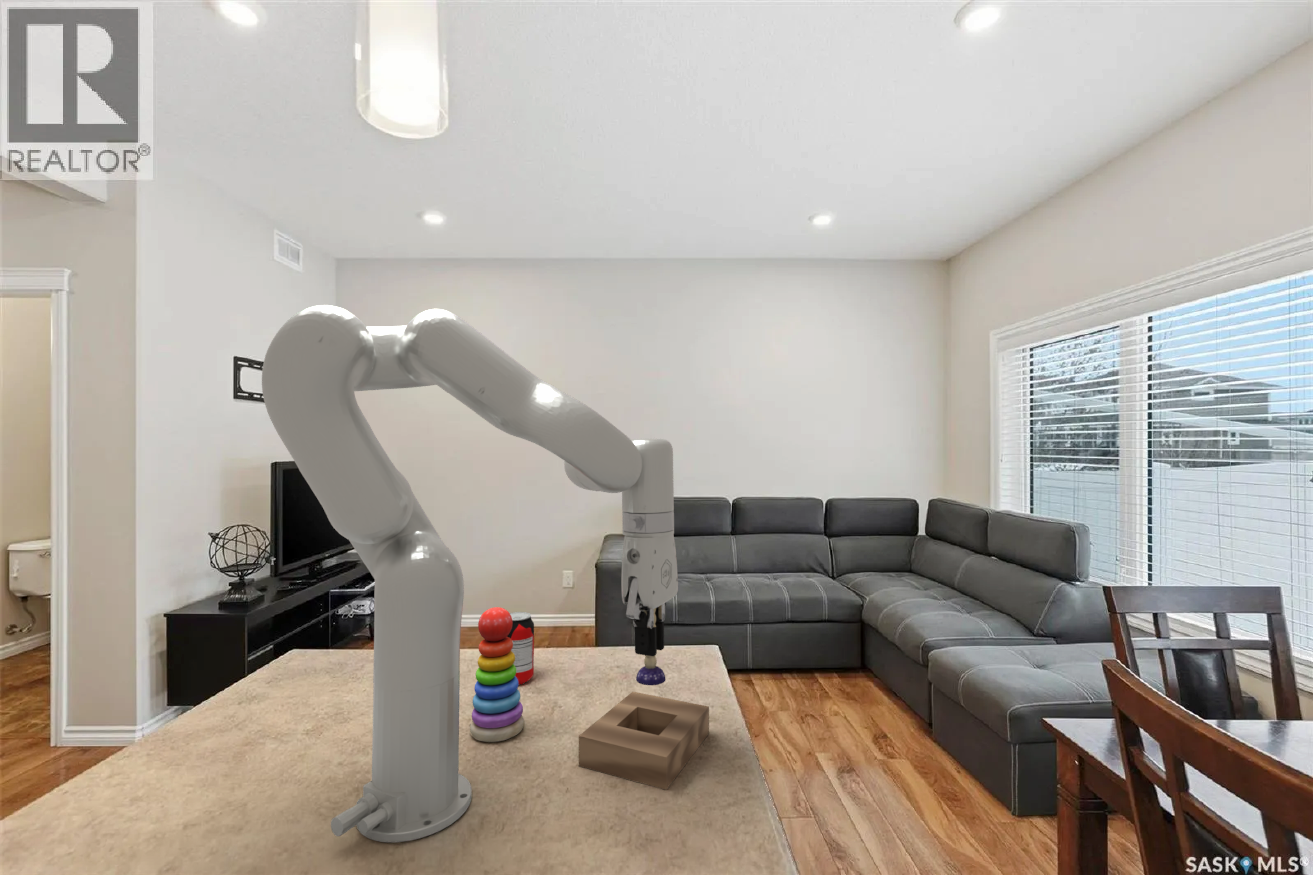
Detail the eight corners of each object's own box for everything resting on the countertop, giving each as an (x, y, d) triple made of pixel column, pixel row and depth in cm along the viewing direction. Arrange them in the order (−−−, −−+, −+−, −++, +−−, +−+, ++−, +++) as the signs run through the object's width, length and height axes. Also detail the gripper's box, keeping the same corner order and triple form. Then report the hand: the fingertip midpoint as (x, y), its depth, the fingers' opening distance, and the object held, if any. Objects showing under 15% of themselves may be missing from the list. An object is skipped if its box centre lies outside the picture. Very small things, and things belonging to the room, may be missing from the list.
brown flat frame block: (666, 789, 71) (666, 757, 71) (578, 766, 76) (578, 735, 76) (709, 733, 85) (708, 706, 85) (632, 716, 91) (632, 691, 91)
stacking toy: (490, 716, 91) (492, 599, 92) (533, 724, 88) (534, 603, 89) (458, 739, 83) (459, 611, 84) (504, 748, 81) (505, 616, 81)
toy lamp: (661, 688, 78) (661, 566, 79) (628, 685, 79) (629, 565, 80) (667, 676, 83) (668, 561, 84) (637, 673, 84) (637, 560, 85)
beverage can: (532, 672, 109) (533, 610, 110) (534, 685, 103) (535, 619, 104) (498, 675, 108) (499, 612, 108) (498, 689, 102) (499, 621, 102)
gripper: (647, 532, 73) (649, 675, 73) (691, 518, 88) (693, 638, 87) (597, 529, 76) (599, 666, 76) (648, 516, 91) (649, 632, 90)
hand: (649, 650), depth 81 cm, fingers closed on toy lamp
